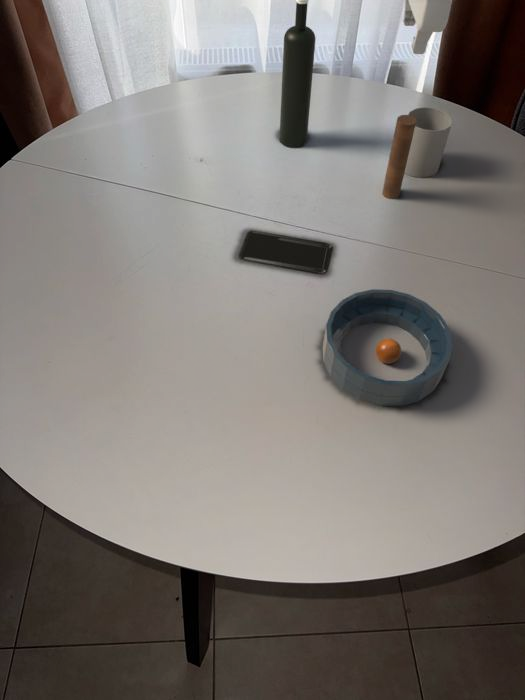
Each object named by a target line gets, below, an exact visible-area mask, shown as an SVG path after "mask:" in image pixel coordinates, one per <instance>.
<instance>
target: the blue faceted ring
mask: <svg viewBox="0 0 525 700" xmlns="http://www.w3.org/2000/svg"><path fill="white" fill-rule="evenodd" d="M368 324H386V325H391V326H394V327H398V328H399V329H401V330H403V331H405V332H407V333H408V334H410V335H411V336H412V337H414V339H415V340H417V341H418V342H419V344H420V346H421V347H422V349H423V350H424V353H425V359H426V367H425V368H424V370H423V371H422V372H421V373H420V374H418V375H416V376H415V377H413V378H412V379H408V380H386V379H382V378H379V377H375V376H372V375H368V374H366V373H364V372H362V371H361V370H359V369H358V368H355V367H354V366H353V365H351V364H350V363H349V362H348V361H347V360H346V357H345V355H344V353H343V351H342V345H341V344H342V343H341V342H342V340H343V339H344V338H345V336H346V335H347V334H348V333H349V332H350V331H352V330H354V329H355V328H357V327H360V326H363V325H368ZM323 336H324V337H323V342H322V360H323V364H324V367H325V368H326V371H327V372H328V374H329V377H330V378H331V379H332V380H333V381H334V382H335V383H336V384H337V386H338V387H340V388H341V390H342V391H344V392H345V393H347V394H349V395H350V396H352V397H354V398H356V399H358V400H359V401H362V402H365V403H369V404H373V405H376V406H381V407H401V406H405V405H409V404H413V403H417V402H419V401H421V400H423V399H424V398H425V397H427V396H429V395H430V394H431V393H433V391H434V390H435V389H436V387H437V386H438V385H439V383H440V382H441V379H442V378H443V375H444V373H445V371H446V368H447V367H448V364H449V362H450V360H451V356H452V351H453V343H454V342H453V338H452V334H451V331H450V327H449V325H448V324H447V322H446V320H444V318H443V316H442V315H441V314H440V313H439V312H438V311H437V310H436V309H434V308H433V307H432V306H431V305H430V304H429V303H427V302H426V301H424V300H423V299H422V300H421V299H420V298H418V297H417V296H416V297H415V296H414V295H412V294H409V293H407V292H401V291H397V290H395V289H375V288H374V289H367V290H362V291H359V292H354V293H353V294H351V295H348V296H347V297H345V298H343V299H341V300H340V301H339V302H338V304H336V306H335V307H334V308H333V309H332V310H331V311H330V313H329V317H328V319H327V321H326V323H325V330H324V335H323Z"/></svg>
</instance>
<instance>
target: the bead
mask: <svg viewBox="0 0 525 700" xmlns="http://www.w3.org/2000/svg"><path fill="white" fill-rule="evenodd" d="M375 355H376V358H377V359H378V360H379V362H381V363H384V364H387V365H388V364H389V365H391V364H394V363H396V362H397V361H399V359H400V358H401V355H402V347H401V345H400V343H399V342H398V341H397V340H395V339H393V338H384V339H382V340H380V341H379V343H377V345H376V348H375Z"/></svg>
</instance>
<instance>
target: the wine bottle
mask: <svg viewBox="0 0 525 700" xmlns="http://www.w3.org/2000/svg"><path fill="white" fill-rule="evenodd" d="M295 3H296V4H295V18H294V19H295V21H294V25H293V26H291V27H289V28H287V30H286V31H285V33H284V36H283V53H282V71H281V73H282V74H281V94H280V96H281V97H280V117H279V118H280V119H279V120H280V121H279V142H280V144H281V145H283V146H284V147H287V148H294V149H295V148H301V147H303V146H304V145H306V143H307V141H308V133H309V132H308V131H309V121H310V120H309V119H310V111H311V110H310V108H311V98H312V97H311V96H312V95H311V94H312V87H313V86H312V84H313V75H314V74H313V73H314V64H315V63H314V61H315V50H316V35H315V34H316V33H315V32H314V31H313V29H312V28H310V27H309V26H307V16H308V3H309V0H295Z"/></svg>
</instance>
